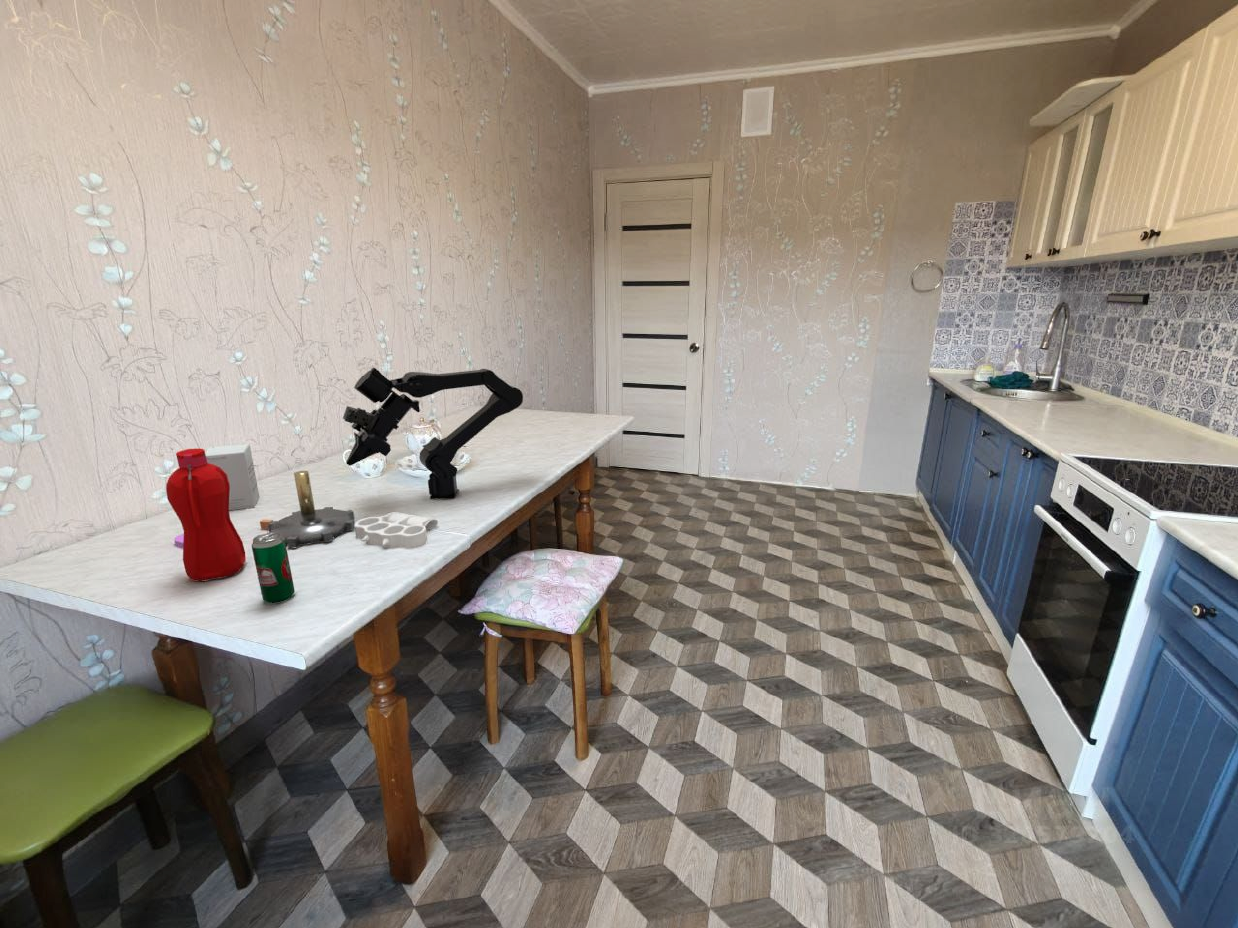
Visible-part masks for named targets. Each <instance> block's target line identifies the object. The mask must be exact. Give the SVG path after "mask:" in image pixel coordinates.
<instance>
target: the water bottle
mask: <svg viewBox="0 0 1238 928" xmlns="http://www.w3.org/2000/svg"><path fill="white" fill-rule="evenodd" d="M205 450H206V449H204V448H186V449H183V450H179V451H177V452H176V453H175V456H176V460H177V464H178V468H177V469H176V470H174V471H173V472H172V473H171V475H169V477H168V479H167V482H166V484H165V485H166V487H165V488H166V498H167V502H169V504H170V506H171V508H172V510H173V511H174V513H175V514H176V516H177V518H178V519H179V521H180V524H181V528H182V529H183V534H184V540H183V548H182V561H183V566H184V571H185V574H186V576H187V578H188V579H189V580H192V581H195V582H203V581H204V582H205V581H210V580H215V579H221V578H229V577H231V576H233V575H236V574H238V573H239V572H240V571H241V570H242V569H243V568H244V565H245V563H246V551H245V550H246V549H245V546H244V543H243V540H242V539H241V536H240V534H239V533H238V530H237V529H236V527H235V526H234V523H233V522H232V520H231V515H230V510H229V493H230V485H229V481H228V478H227V475H226V473H225V472H224V471H223V470H222V469H221V468H220V467H218V466H216V465H213V464H210V463H207V459H206V454H205V452H206V451H205Z"/></svg>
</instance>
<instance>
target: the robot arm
mask: <svg viewBox="0 0 1238 928" xmlns="http://www.w3.org/2000/svg"><path fill="white" fill-rule="evenodd" d="M479 386H485V388H486V389H488V391H489V392H491V393H492V394H491V395H490V396H489V399H488V400H487V402H486V404H485V405H483V407H481V408H480V409H479V410H477V412H475V413H474V414H473V415H472V416H470V417H469V418H468V419H466V421H464V422H462V424H460V425H459V426H458V427H457V428H456V429H454V430H453V431H452V432H450V433H449V434H448V435H447V436H446V437H444V438H441V439H439V438H437V437H436V436H434V437H432V438H431V440H430V441H429V442H428V443H426V444H424V445H422V449H421V450H420V451H419V462H420V463H421V465H423V467H425V468H426V469H427V470H428V471H429V472H431V473H430V474H429V475H428V477H429V478H428V480H427V484H428V485H427V486H428V493H429V495H430V496H429V500H453V499H455V498H456V496H457V495H458V494H459V492H460V488H459V489H458V485H457V472H458V468H457V467H456V466H455V465H454V464H453V463H452V462H453V460H454V459H455V456H456V455H457V453H458V451H459V450H460V449H461V448H462V447H464V446H465V445H467V443H469V442H470V441H471V440H472V439H473V438H474V437H476V436H477V435H478V434H479V433H481V432H482V431H483V430H484V429H486V427H488V425H490V424H492V422H494V421H495V420H496V419H497V418H498V417H501V416H503V415H506V414H509V413H510V412H513V411H514V410H516V409H518V408H519V407H520V406H521V405H522V404H523V402H524V396H523V392H522V391H521V390H520V388H517V387H514V386H512V385H511V384H508V383H507V382H506V381H504V380H503V378H500V377H499V376H498V375H497V374H496V373H495V372H494V371H493V370H490V369H487V368H481V369H475V370H465V371H457V372H446V373H431V372H430V373H429V372H422V371H418V372H417V371H410V372H409V371H408V372H407V373H405V374H404V375H403V376H402V377H399V378H393V379H388V378H387V377H386V376H384V375H383V374H382V372H381V371H379V370H378V369H377V368H376V367H371V369H370V370H369V371H367V372H366V373H364V374H363V375H362V376H360V377H359V379H358V380H357V381H356V383H355V385H354V387H353V389H354V390H356V391H357V392H359V393H360V394H362V395H363V396H364V397H365V398H367V399H368V400H370V402H372V403H374V404H376V403H378V402H379V403H382V405H380V407H379V408H378V409H373V410H371V412H368V411H367V410H366V409H362V408H360V407H357V408H355V407H353V406H349V405H347V406H346V408H345V411H344V413H343V417H342V419H343V420H344V422H347V423H350V424H352V425H350V426H351V428H352V429H353V430H356V431H358V432H357V433H356V432H353V435H354V440H355V442H354V445H353V446H352V449H351V450H350V453H349V455H348V457H347V459H346V462H345V464H346V465H348V466H350V467H351V466H352V465H355V464H357V463H359V462H361V461H362V460H364V459H367V458H369V457H371V456H374V455H376V454H381V455H382V456H383V457H387V456H388V454H389V453H390V452H391V451H392V449H391V444H390V443H389V442H388V440H389V439H388V437H389V436H390V435H391V433H392V432H393V430H397V429H399V424H400V422H401V421H402V420H403V419H404V418H405V416H406V415H407V414H408V413H409V411H411V409H413V410H414V411H415V412H417V413H420V412H421V410H420V409H421V408H420V406H419V405H420V401H419V400H417V399H418V398H419V399H420V398H424V397H427V396H430V395H433V394H436V393H438V392H441V391H443V390H444V391H445V390H452V389H460V388H470V387H479ZM392 389H395V390H396V391H398V392H399V393H402V394H400V395H399V394H398V393H397V392H395V391H394V390H392ZM406 394H408V395H409V396H411V397H413V398H415V399H414V400H413V399H412V398H410V397H409V396H408V395H406ZM416 398H417V399H416Z"/></svg>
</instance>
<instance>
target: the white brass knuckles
mask: <svg viewBox="0 0 1238 928" xmlns="http://www.w3.org/2000/svg"><path fill="white" fill-rule="evenodd" d="M354 523H355V524H354V527H355V528H354V532H355V538H356V539H358V540H359V539H360V541H361V542H365V543H366V544H368V545H372V546H373V545H376V546H380V547H382V548H397V547H398V548H399V547H400V548H406V549H414V548H419V547H422V546H423V545H425V544H426V543H427V542H428V535H427V533H430V532H432V531H434V530H435V529H436V528H437V526H438V525H439V523H438V520H437V519H435V518H432V517H424V516H418V515H415V514H407V513H402V512H399V511H392V512H389V513H387V514H385V515H382V516H370V517H365V518H361V519H359V520H357V521H356V522H354Z"/></svg>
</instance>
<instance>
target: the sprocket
mask: <svg viewBox="0 0 1238 928" xmlns="http://www.w3.org/2000/svg"><path fill="white" fill-rule="evenodd" d="M293 476H294V482H295V488H296V493H297V499H298V503H299V510H296V511H293V512H292V513H291V515H288V516H285V517H283V518H281V519H279V520H273V521H271V522H270V523H269V524H268V529H269V530H268V532H267V533H269V532H278V533H281V536H282V537H283V538H284V539H285V543H286V546H287V548H288V549H291V548H292V549H293V548H294V549H295V548H298V547H299V546H300V545H303V546H304V545H309V544H317V543H320V542H323V543H325V544H327V543H329V542H332V541H334V538H336V537H338V536H340V535H342V534H344V533H345V532H349V531H351V532H353V530H355V527H354V524H355V523H356V522H355V520H356V519H355V513H354V510H351V509H349V510H342V509H338V508H337V509H335V508H333V506H325V507H324V508H321V509H320V508H319V509H315V508H316V507H315V503H314V497H313V496H314V495H313V492H312V486H311V485H312V484H311V479H310V472H309V471H308V470H299V471H295V472H293Z"/></svg>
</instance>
